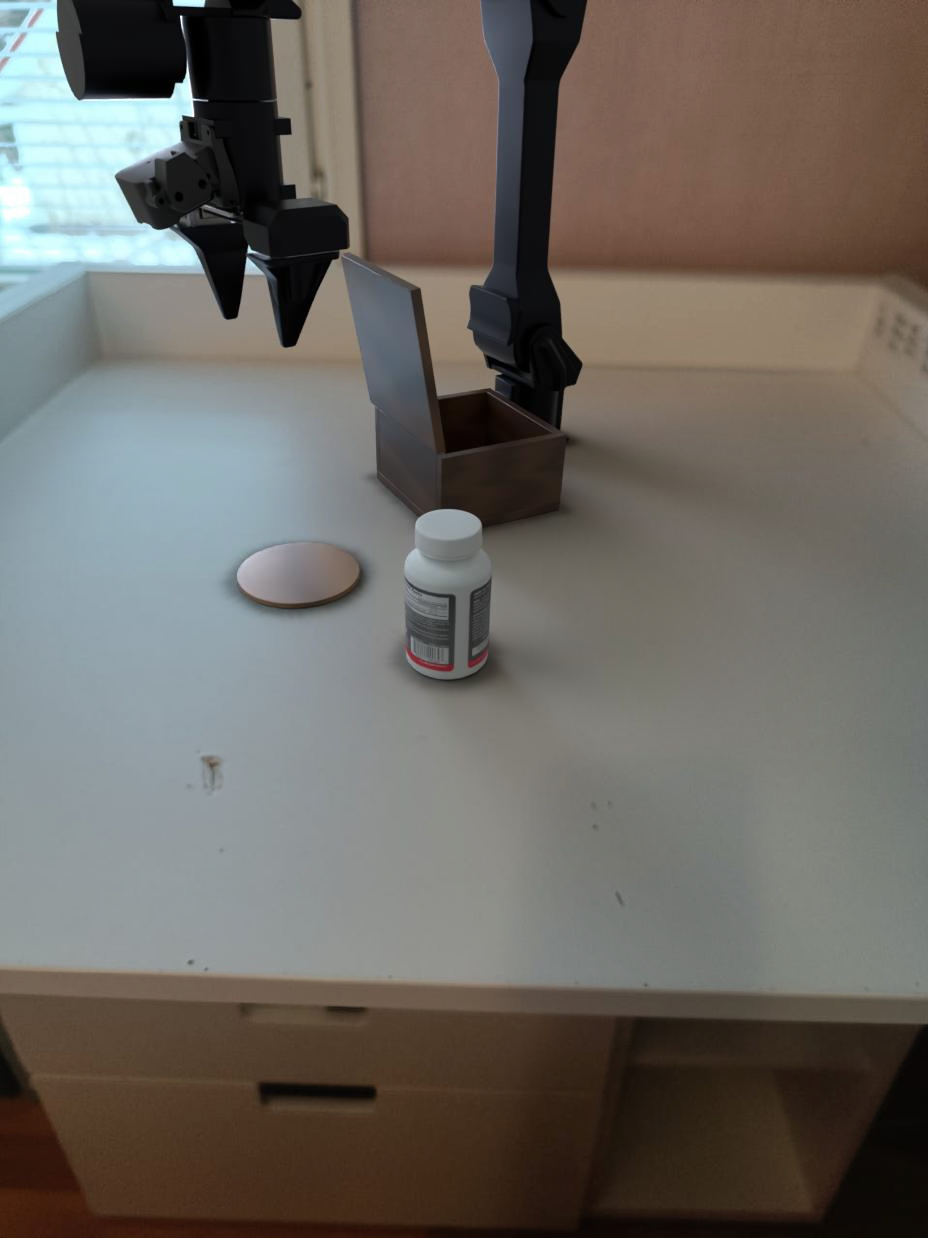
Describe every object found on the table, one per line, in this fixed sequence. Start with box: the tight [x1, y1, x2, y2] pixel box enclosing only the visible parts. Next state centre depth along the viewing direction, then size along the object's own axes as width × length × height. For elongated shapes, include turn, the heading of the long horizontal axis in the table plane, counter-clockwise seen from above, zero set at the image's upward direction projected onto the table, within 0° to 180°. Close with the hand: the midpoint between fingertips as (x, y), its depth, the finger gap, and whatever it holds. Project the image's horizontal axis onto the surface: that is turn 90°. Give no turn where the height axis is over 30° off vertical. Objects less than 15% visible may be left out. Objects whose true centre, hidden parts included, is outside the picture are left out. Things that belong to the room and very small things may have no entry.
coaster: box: [236, 541, 361, 609], centre depth 65 cm, size 9×9×1 cm
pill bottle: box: [403, 509, 493, 680], centre depth 54 cm, size 5×5×10 cm
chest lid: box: [339, 251, 446, 454], centre depth 67 cm, size 12×13×1 cm
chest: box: [374, 387, 568, 528], centre depth 76 cm, size 12×13×7 cm
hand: (258, 332), depth 68 cm, fingers open, 9 cm apart
